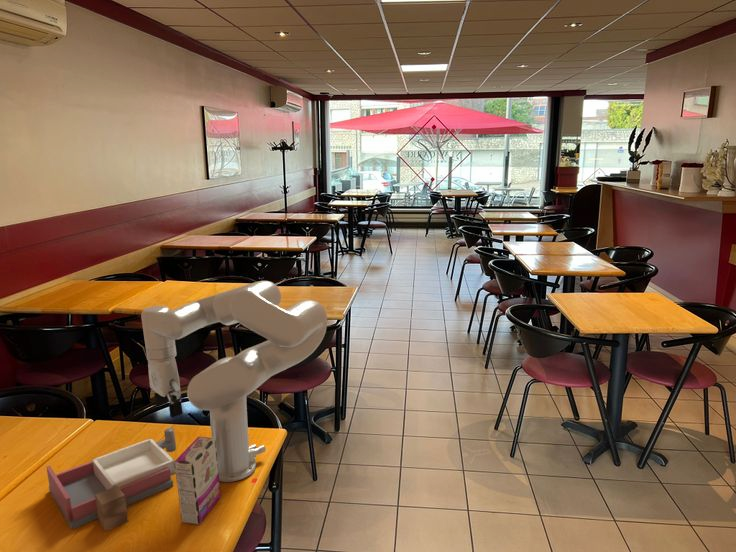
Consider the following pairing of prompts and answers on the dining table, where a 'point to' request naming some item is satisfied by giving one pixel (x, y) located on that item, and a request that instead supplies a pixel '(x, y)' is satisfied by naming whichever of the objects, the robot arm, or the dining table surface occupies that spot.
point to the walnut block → (111, 508)
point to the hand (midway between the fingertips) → (169, 410)
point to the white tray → (135, 461)
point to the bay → (96, 491)
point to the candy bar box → (197, 480)
